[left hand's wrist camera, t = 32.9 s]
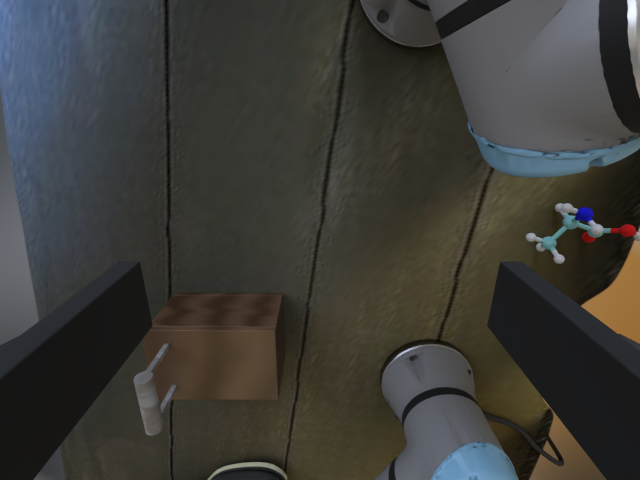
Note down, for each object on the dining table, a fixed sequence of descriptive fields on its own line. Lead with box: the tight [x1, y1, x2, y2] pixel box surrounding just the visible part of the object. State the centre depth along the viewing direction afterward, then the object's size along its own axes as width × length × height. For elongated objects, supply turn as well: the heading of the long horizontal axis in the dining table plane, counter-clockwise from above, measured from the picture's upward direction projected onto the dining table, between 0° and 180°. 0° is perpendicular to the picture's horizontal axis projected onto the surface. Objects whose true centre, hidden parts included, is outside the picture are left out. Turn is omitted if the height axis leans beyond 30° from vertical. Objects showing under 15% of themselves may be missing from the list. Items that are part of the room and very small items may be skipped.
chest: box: [152, 293, 285, 392], centre depth 52 cm, size 17×12×9 cm
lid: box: [134, 326, 279, 435], centre depth 44 cm, size 18×12×8 cm, turn 90°
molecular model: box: [526, 203, 640, 264], centre depth 46 cm, size 12×10×10 cm
